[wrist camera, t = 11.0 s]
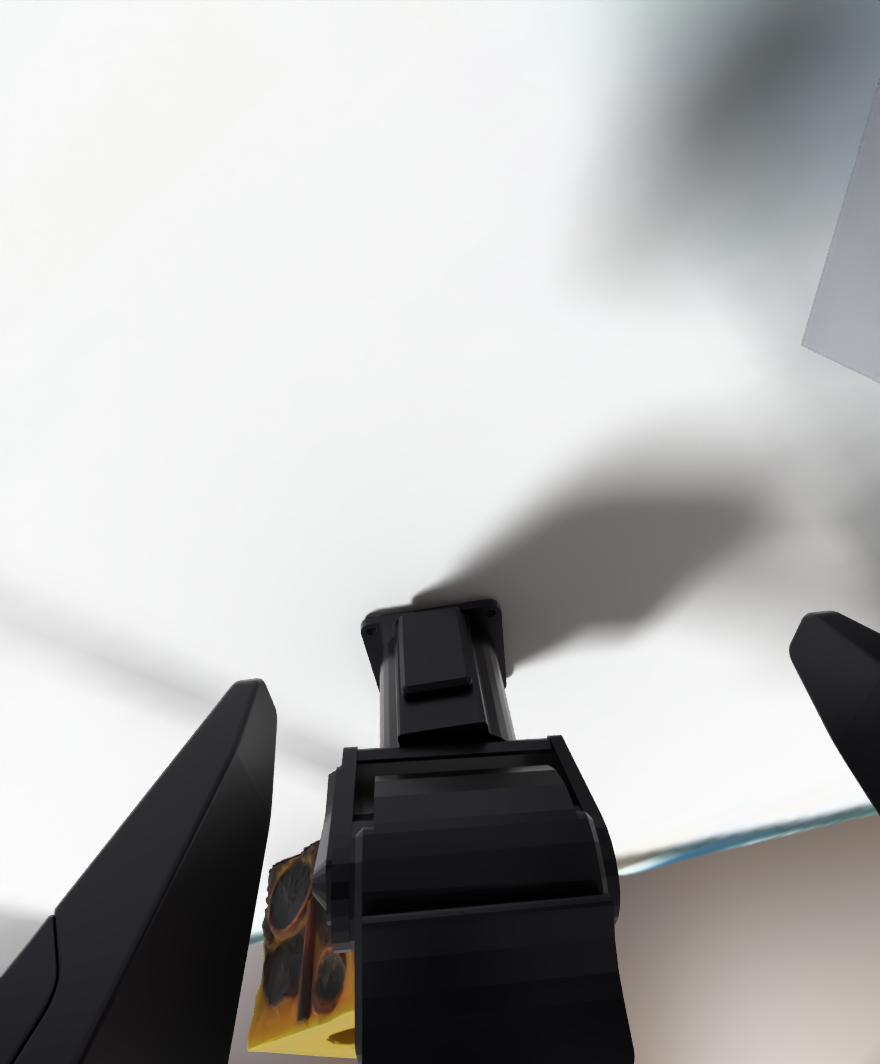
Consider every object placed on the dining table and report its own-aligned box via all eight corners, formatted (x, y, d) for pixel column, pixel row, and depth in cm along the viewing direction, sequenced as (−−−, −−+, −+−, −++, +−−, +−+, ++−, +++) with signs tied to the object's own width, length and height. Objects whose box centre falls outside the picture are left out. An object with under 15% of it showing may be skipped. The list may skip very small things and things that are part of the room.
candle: (267, 865, 39) (237, 1052, 31) (362, 813, 36) (357, 1008, 28) (366, 896, 44) (362, 1062, 36) (457, 853, 41) (476, 1026, 33)
